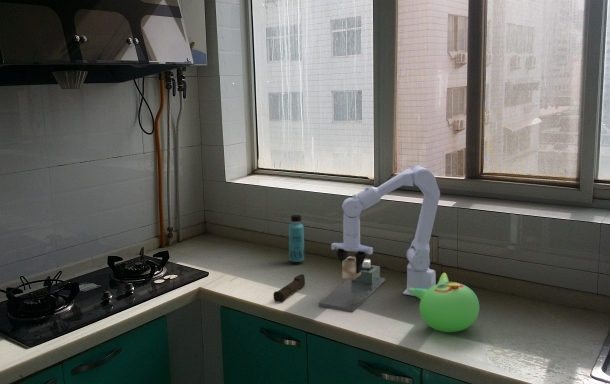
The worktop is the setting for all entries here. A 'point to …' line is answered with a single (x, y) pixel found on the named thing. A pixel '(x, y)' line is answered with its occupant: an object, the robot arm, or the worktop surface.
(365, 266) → the press pin
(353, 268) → the block
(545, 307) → the worktop surface
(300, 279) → the hand tool
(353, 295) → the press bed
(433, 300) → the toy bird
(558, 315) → the worktop surface
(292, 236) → the beverage bottle
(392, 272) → the worktop surface
